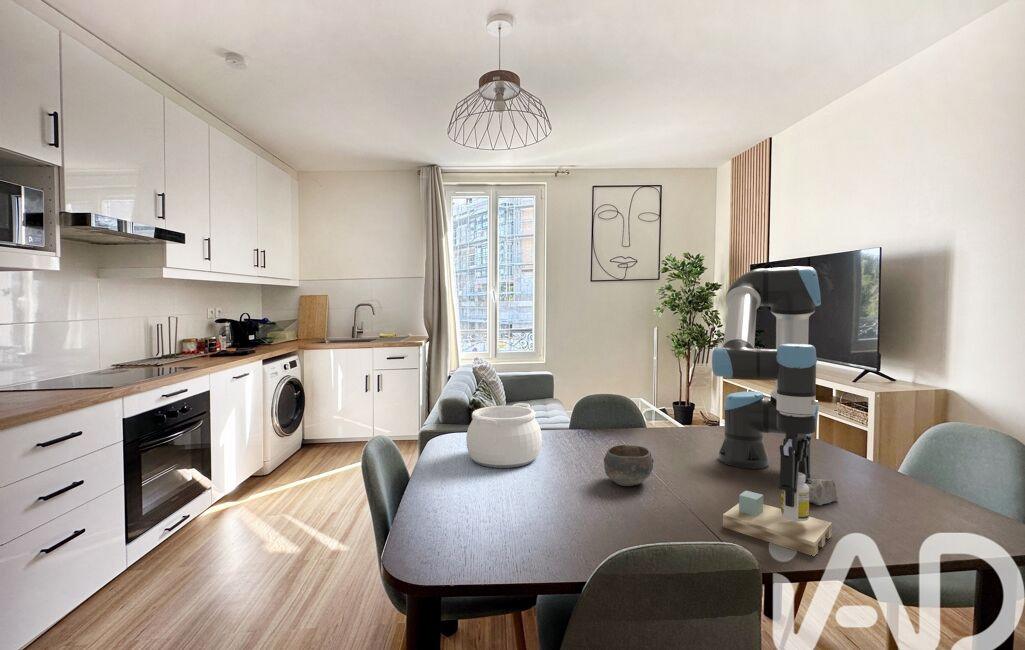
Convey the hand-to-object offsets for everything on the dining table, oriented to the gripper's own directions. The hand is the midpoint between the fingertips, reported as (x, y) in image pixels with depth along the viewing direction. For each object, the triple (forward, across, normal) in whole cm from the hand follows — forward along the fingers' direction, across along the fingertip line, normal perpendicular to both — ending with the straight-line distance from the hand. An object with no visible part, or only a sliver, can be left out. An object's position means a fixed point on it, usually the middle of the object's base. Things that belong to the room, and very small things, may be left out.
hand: (795, 515), depth 107 cm
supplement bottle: (+1, 0, 0) cm, 1 cm away
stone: (+5, +27, +3) cm, 27 cm away
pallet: (+5, 0, +4) cm, 6 cm away
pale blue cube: (+2, 0, +10) cm, 10 cm away
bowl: (+5, +2, +45) cm, 45 cm away
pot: (+5, -8, +89) cm, 90 cm away
